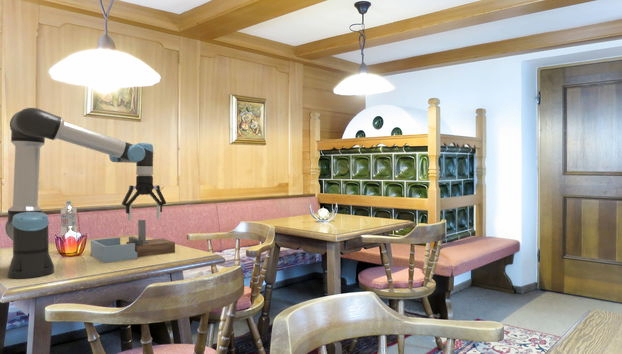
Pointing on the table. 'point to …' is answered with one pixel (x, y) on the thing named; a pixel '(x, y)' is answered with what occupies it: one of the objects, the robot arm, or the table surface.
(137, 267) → the table surface
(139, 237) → the scraper
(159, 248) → the brown wooden block
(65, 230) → the water bottle
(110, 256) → the box
